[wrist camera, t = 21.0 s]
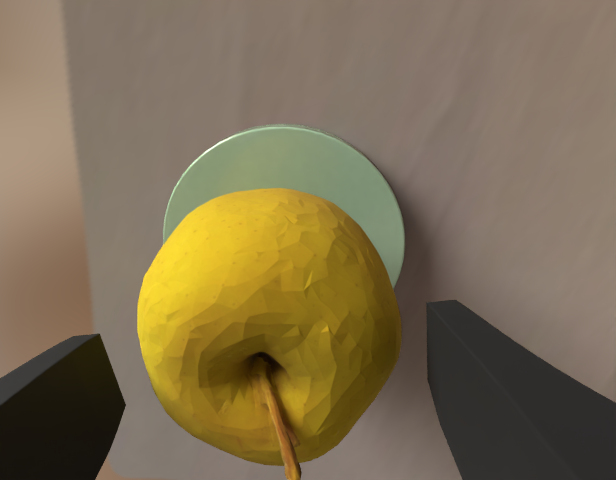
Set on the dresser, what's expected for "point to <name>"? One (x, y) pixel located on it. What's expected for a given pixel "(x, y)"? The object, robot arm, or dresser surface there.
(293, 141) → the plate
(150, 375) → the apple
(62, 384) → the robot arm
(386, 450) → the dresser surface
